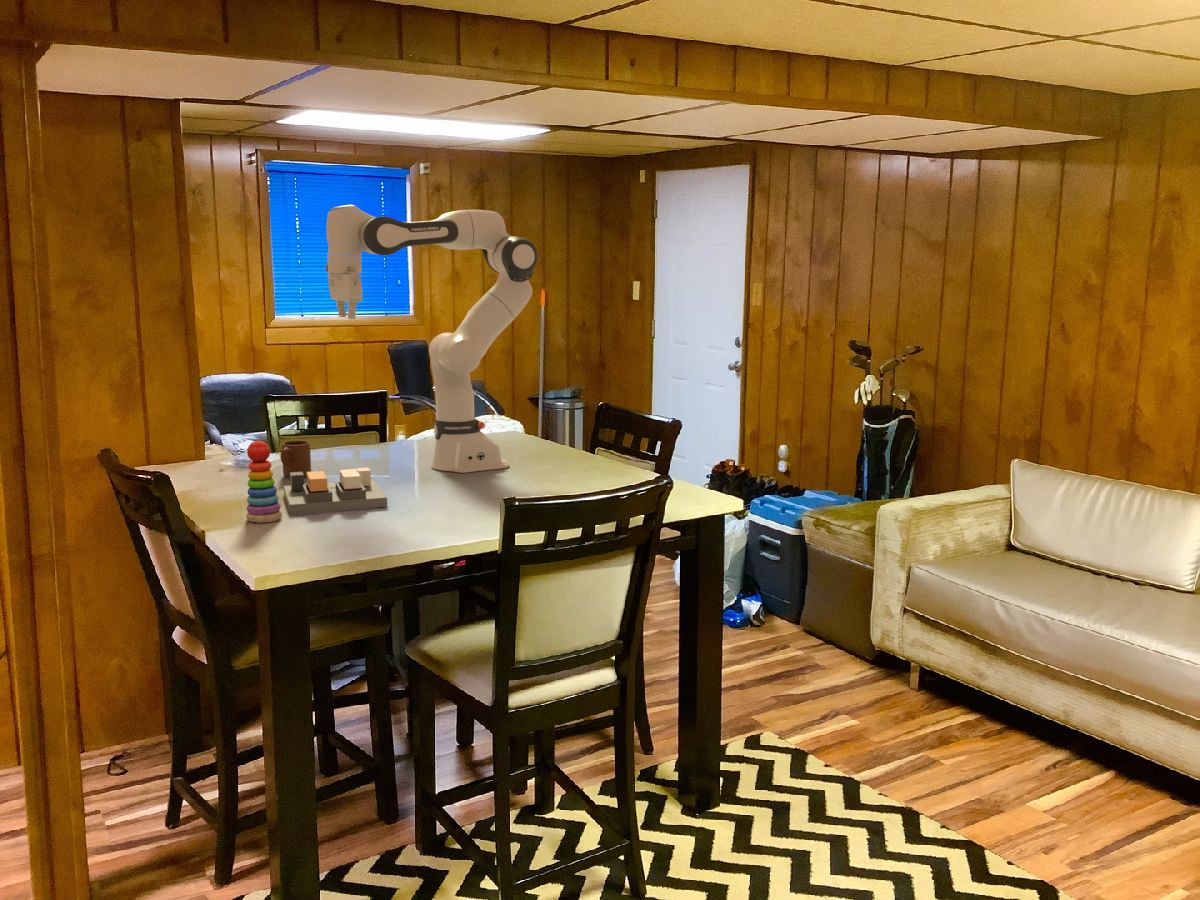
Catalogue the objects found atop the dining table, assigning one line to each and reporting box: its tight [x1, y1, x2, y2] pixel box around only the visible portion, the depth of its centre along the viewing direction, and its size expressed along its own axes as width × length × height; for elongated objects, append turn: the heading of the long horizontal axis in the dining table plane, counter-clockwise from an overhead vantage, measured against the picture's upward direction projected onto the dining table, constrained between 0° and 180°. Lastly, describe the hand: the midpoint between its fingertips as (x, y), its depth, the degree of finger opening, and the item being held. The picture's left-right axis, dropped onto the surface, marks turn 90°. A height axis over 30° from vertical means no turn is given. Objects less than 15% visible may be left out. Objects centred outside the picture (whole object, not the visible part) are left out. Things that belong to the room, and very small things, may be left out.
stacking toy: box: [245, 440, 283, 524], centre depth 236 cm, size 8×8×19 cm
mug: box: [279, 440, 312, 479], centre depth 281 cm, size 12×8×9 cm, turn 170°
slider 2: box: [355, 467, 372, 486], centre depth 262 cm, size 3×4×4 cm
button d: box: [339, 468, 361, 489], centre depth 251 cm, size 4×9×3 cm, turn 21°
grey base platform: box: [283, 479, 388, 516], centre depth 255 cm, size 23×21×5 cm
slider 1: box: [289, 472, 305, 491], centre depth 256 cm, size 3×4×4 cm
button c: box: [306, 470, 328, 492], centre depth 249 cm, size 4×9×3 cm, turn 21°
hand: (347, 318), depth 277 cm, fingers open, 8 cm apart
